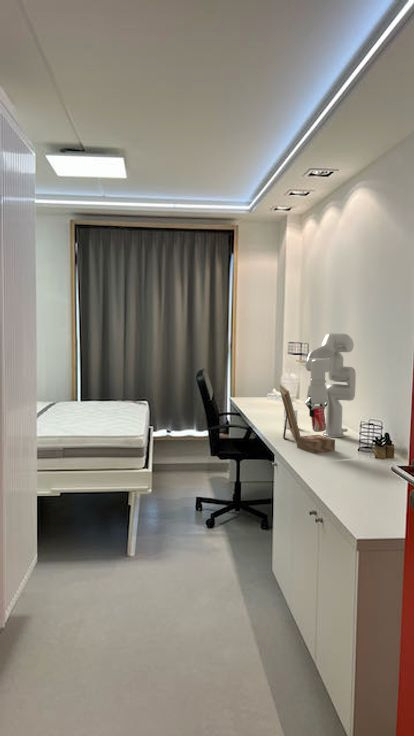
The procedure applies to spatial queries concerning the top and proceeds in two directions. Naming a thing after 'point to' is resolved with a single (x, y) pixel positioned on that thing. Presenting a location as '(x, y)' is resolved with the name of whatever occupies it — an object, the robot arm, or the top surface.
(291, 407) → the picture frame
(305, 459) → the top surface
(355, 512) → the top surface
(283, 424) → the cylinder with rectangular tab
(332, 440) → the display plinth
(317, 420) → the soda can
